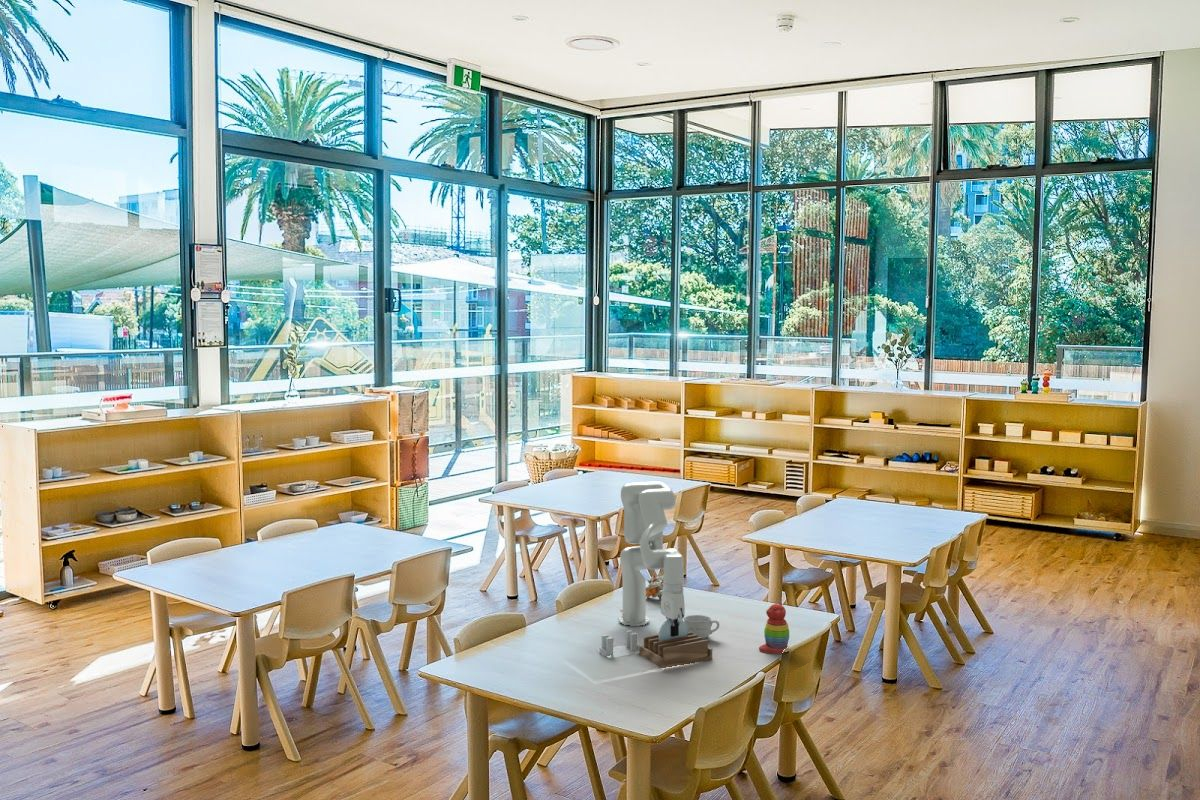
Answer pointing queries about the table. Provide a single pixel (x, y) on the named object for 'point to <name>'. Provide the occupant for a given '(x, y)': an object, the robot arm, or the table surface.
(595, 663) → the table surface
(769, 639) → the stacking bear
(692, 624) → the teacup
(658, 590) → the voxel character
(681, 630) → the plate
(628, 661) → the table surface
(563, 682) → the table surface
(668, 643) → the rack
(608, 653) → the holder
